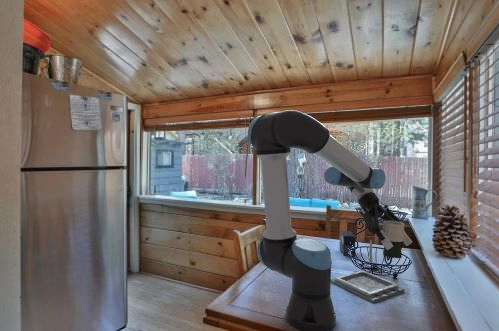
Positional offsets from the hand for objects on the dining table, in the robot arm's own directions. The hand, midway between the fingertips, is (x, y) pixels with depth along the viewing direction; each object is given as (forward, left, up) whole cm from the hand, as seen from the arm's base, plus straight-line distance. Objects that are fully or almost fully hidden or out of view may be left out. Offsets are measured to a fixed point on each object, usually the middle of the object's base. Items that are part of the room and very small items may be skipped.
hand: (400, 246), depth 107 cm
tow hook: (+18, +27, -19) cm, 37 cm away
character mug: (0, +3, -5) cm, 6 cm away
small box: (+24, +44, -19) cm, 54 cm away
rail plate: (-3, +11, -18) cm, 22 cm away
